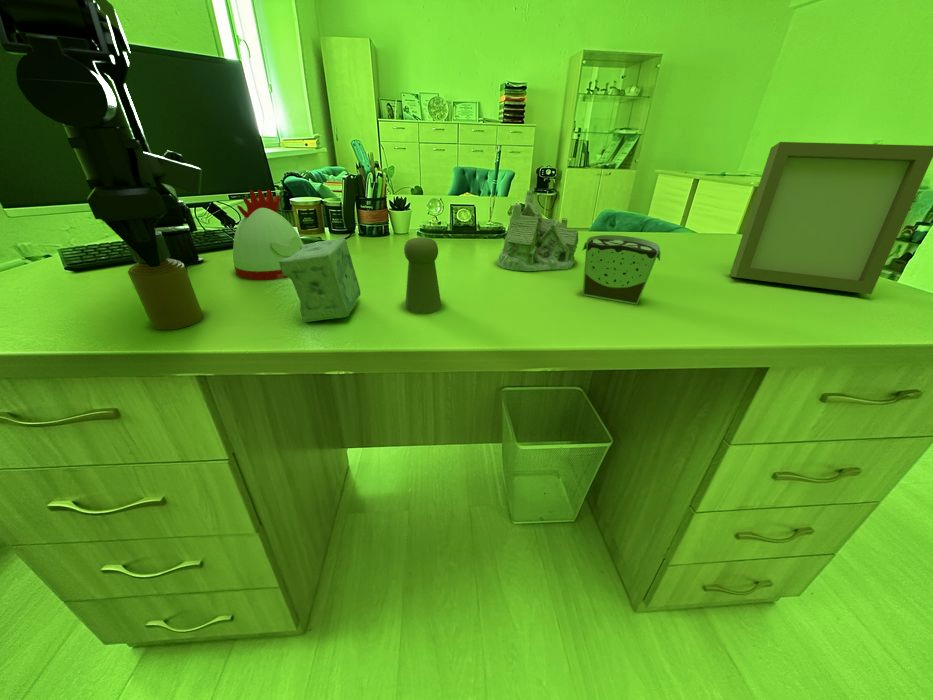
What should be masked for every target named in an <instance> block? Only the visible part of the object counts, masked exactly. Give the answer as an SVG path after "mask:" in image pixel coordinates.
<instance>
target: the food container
mask: <svg viewBox="0 0 933 700" xmlns="http://www.w3.org/2000/svg"><path fill="white" fill-rule="evenodd" d="M586 239H587V240H586V241H585V242H584V245H583V247H582V250H581V251H585V258H584V269H583V271H584V272H583V285H582V286H583V287H582V296H586V297H591V298H596V299H603V300H607V301H613V302H614V301H615V302H619V303H626V304H630V305H631V304H632V305H638V304H639V302H640V300H641V297H642V294H643V292H644V290H645V287H646V285H647V282H648V280H649V277H650V275H651V272H652V270H653V268H654V264H655V263H656V261H657V260H658V261H659V262H660V261H661V253H662V252H661V247H660V245H659V244H658V243H656V242H654V241H651V240H648V239H645V238H640V237H635V236H628V235H619V234H618V235H617V234H599V235H593V236H590V237H588V238H586Z"/></svg>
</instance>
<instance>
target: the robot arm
mask: <svg viewBox="0 0 933 700" xmlns="http://www.w3.org/2000/svg"><path fill="white" fill-rule="evenodd" d="M0 44H1V46H2V48H3V50H4V51H5V53H8V54H10V55H14V56H21V58H19V61H17V66H16V69H15V74H16V83H17V86H18V88H19V90H20V91H21V93H22V95H23V96H24V98H25V99H26V100H27V101H28V102H29V103H30V105H31V106H32V107H33V108H34V109H36V110H37V111H38V112H39V113H41V114H42V115H43V116H45V117H47V118H49V119H50V120H52V121H55V122H57V123H60V124H62V126H63V128H64V130H65V133H66V134H67V137H66V139H67V141H68V143H69V145H70V147H71V149H73V150H74V152H75V154H76V157H77V159H78V161H79V163H80V165H81V169H82V171H83V172H84V174H85V177H86V179H85V180H86V183H87V185H88V187H89V189H90V190H92V191H91V192H90V193H89V195H88V196H87V199H86V202H87V204H88V206H89V208H90V210H91V213H92V215H93V217H94V219H95V220H101V221H102V222H103V223H105V225H107V227H109V228H110V229H111V230H112V231H113V232H114V233H115V234H116V235H117V236H118V237H119V238H120V239H122V241H123V242H124V243H125V244H126V243H127V244H128V245H129V246H130V247H131V248H132V249H133V250H134V251H135V252H136V253H137V254H138V255H139V256H140V257H141V258H142V259H143V260H144V261H145V262H146V263H147V264H148V265H149V266H150V267H154V266H159V265H160V260H159V254H158V247H157V240H156V233H155V231H160V232H161V233H162V236H163V237H164V240H165V242H166V245H167V248H168V250H169V253H170V257H169V258H170V259H174V260H178V261H181V262H182V263H183V264H184V265H185V266H189V265H194V264H198V263H202V262H204V258H202V257H199V254H198V252H197V251H198V250H197V248H196V246H195V242H194V240H193V237H192V234H194V232H198V227H197V224H196V221H195V218H194V216H193V213H192V211H191V208H190V207H188V206H187V204H185V202H184V201H183V200H180V199H179V197H178V194H177V191H176V189H175V188H178V189H181V190H182V189H183V190H185V191H186V192H188V193H191V194H196V195H201V185H202V173H203V172H202V171H203V169H202V168H200V167H198V166H194V165H193V164H188V163H186V160H185V158H184V156H183V154H180V153H178V152H174V151H170V150H166V151H165V153H164V154H163V155H162V156H161V155H158V154H153V153H152V151H151V149H150V146H149V143H148V141H147V138H146V135H145V133H144V130H143V127H142V125H141V121H140V120H139V117H138V114H137V112H136V108H135V106H134V103H133V101H132V99H131V98H132V97H131V95H130V93H129V91H128V88H127V84H126V81H127V77H128V73H129V70H130V69H129V68H130V61H129V59H128V55H127V53H128V54H131V51H130V47H129V43H128V41H127V38H126V35H125V32H124V30H123V27H122V24H121V22H120V20H119V17H118V15H117V12H116V9H115V8H114V6H113V5H112V3H111V2H109V1H108V0H0ZM127 244H126V245H127Z"/></svg>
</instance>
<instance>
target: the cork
mask: <svg viewBox="0 0 933 700" xmlns="http://www.w3.org/2000/svg"><path fill="white" fill-rule="evenodd" d="M403 251H404V252H403V253H404V256H405V259H406V260H407V261H408V263H407V266H408V267H407V277H406V289H405V290H406V291H405V302H404V303H405V305H404V306H405V307H404V308H405V309H406V311H408V312H410V313H413V314H422V315H423V314H425V315H426V314H431V313H435V312H438V311H439V310H441V308H443V307H442V301H441V293H440V287H439V281H438V275H437V274H438V273H437V268H436V266H437V265H436V259H437V258H438V255H439V247H438V244H437V242H436V241H435V240H434V239H432V238H429V237H413V238H410V239H408V240H406V242H405V244H404V247H403Z"/></svg>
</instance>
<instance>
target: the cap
mask: <svg viewBox="0 0 933 700" xmlns="http://www.w3.org/2000/svg"><path fill="white" fill-rule="evenodd" d="M155 233H156V240H157V247H158V254H159V260H160V261H162V260H165V259H167V258H169V257H170V253H169V250H168V248H167V245H166V242H165V240H164V237H163V236H162V233H161V232H160V231H155ZM125 244H126V247H127V249H128V250H129V253H130V255H131V258H132V260H133V261H134V262H135V263H138V262H140V263H146V262H145V261H144V260H143V259H142V258H141V257H140V256H139V255H138V254H137V253H136V252H135V251H134V250H133V249H132V248H131V247H130V246H129V245H128V244H127V243H126V242H125Z"/></svg>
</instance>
